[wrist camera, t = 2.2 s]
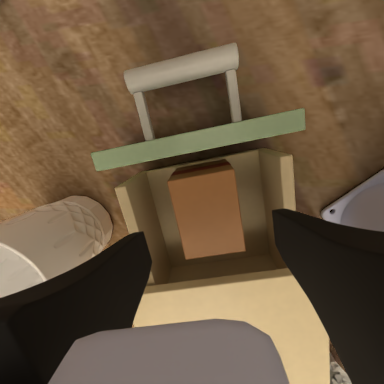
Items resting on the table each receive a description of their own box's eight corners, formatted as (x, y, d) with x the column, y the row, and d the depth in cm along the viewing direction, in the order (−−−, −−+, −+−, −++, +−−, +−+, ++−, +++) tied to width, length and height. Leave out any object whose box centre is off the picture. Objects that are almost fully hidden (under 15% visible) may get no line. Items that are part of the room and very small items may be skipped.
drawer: (111, 93, 17) (63, 73, 11) (263, 56, 16) (300, 11, 10) (161, 268, 22) (146, 319, 16) (281, 252, 21) (313, 301, 15)
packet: (176, 167, 18) (166, 181, 13) (226, 158, 17) (234, 168, 13) (189, 228, 19) (185, 260, 15) (235, 221, 19) (246, 251, 14)
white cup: (40, 235, 23) (-78, 309, 13) (60, 175, 21) (-63, 213, 11) (103, 265, 24) (35, 356, 14) (129, 211, 21) (70, 275, 12)
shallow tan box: (150, 239, 22) (122, 296, 14) (281, 218, 21) (328, 270, 13) (179, 337, 26) (169, 423, 18) (290, 326, 25) (331, 415, 17)
